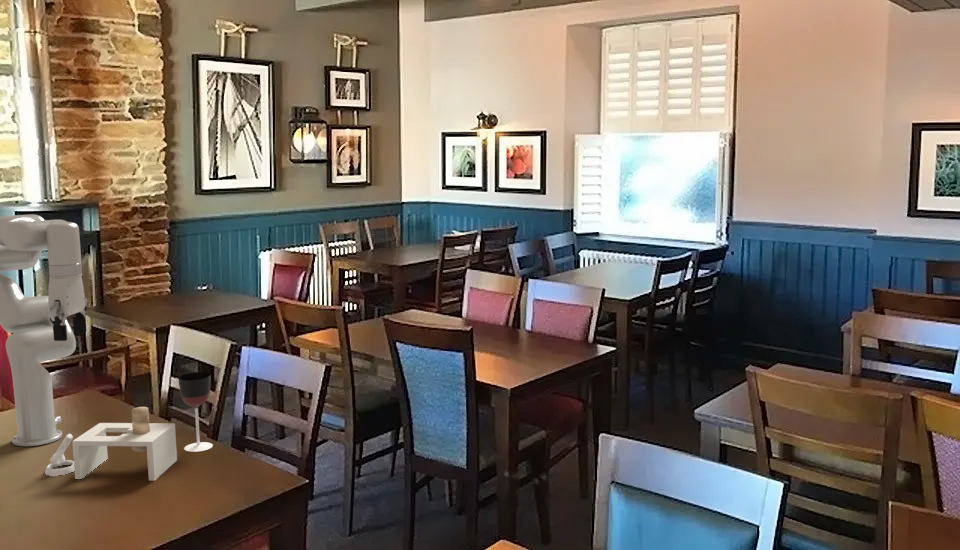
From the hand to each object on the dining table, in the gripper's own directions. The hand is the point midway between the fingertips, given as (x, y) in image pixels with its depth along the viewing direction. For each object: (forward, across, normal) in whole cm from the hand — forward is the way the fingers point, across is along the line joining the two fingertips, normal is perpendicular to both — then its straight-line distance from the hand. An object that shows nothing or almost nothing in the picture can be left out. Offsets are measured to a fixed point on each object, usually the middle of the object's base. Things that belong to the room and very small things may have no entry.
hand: (70, 336), depth 218 cm
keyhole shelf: (+33, +7, +16) cm, 37 cm away
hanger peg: (+28, +7, +20) cm, 35 cm away
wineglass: (+33, -10, +28) cm, 45 cm away
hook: (+34, +8, -1) cm, 34 cm away
